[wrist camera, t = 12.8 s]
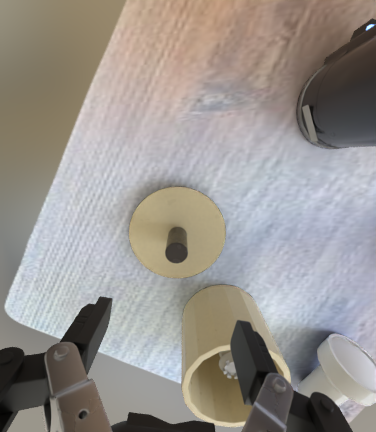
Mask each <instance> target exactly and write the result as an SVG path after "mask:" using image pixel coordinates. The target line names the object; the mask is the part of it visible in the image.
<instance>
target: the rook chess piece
mask: <svg viewBox="0 0 376 432" xmlns="http://www.w3.org/2000/svg"><path fill="white" fill-rule="evenodd" d="M219 356H220V360H219V367H220V369H221V370H222V371H223V372H224V375H225V374H226V375H227V378H230V379H231V375H234V378H235V379H237V378H238V377H237V373H236V369H235V365H234V361H233V358H232V354H231V350H226V351H220V352H219Z"/></svg>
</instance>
